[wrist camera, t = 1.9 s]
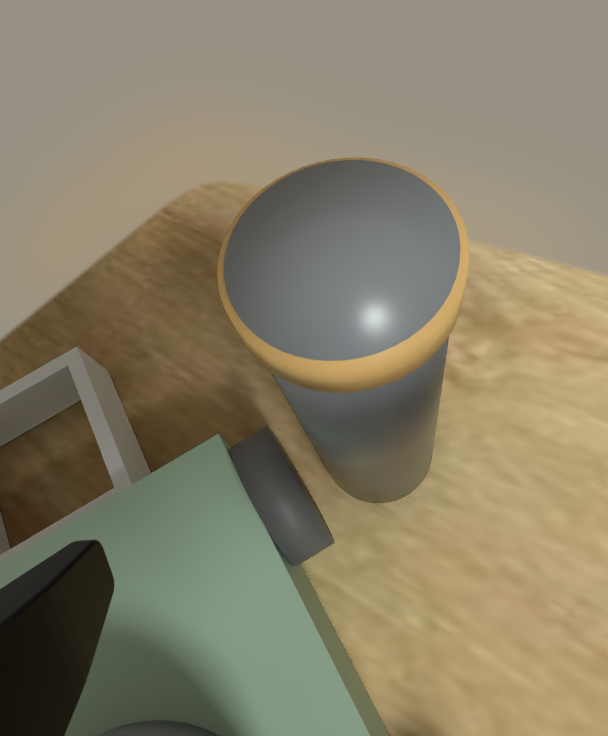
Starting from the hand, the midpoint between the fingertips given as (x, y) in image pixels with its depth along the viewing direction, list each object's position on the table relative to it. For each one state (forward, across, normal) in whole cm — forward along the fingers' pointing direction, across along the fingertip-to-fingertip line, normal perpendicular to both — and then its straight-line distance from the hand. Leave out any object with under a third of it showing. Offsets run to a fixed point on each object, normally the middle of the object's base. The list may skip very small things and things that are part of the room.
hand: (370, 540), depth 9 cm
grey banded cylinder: (+11, 0, +5) cm, 12 cm away
